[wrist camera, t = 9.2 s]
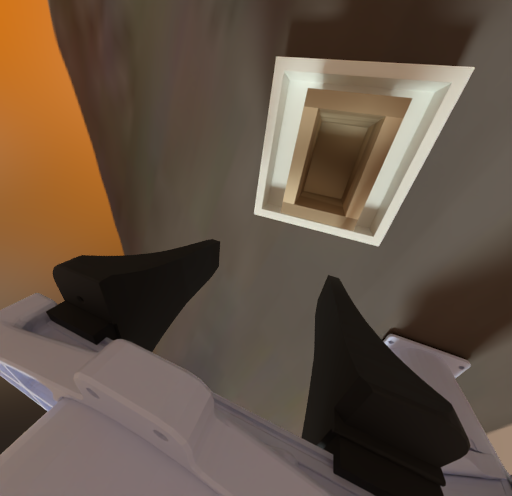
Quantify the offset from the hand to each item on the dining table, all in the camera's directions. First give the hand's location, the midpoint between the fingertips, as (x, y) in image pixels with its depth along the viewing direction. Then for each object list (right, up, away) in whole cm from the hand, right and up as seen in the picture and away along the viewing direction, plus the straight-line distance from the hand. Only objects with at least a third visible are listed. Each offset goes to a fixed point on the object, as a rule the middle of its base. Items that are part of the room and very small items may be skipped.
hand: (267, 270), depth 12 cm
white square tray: (+6, +9, +5) cm, 12 cm away
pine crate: (+6, +9, +4) cm, 11 cm away
